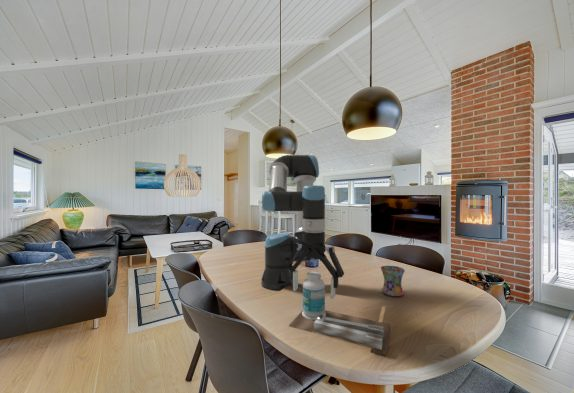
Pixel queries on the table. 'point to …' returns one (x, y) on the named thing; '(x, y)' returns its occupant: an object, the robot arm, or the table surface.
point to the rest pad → (310, 317)
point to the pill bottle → (313, 295)
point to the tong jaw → (353, 325)
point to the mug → (392, 280)
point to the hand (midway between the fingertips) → (313, 293)
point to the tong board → (329, 314)
